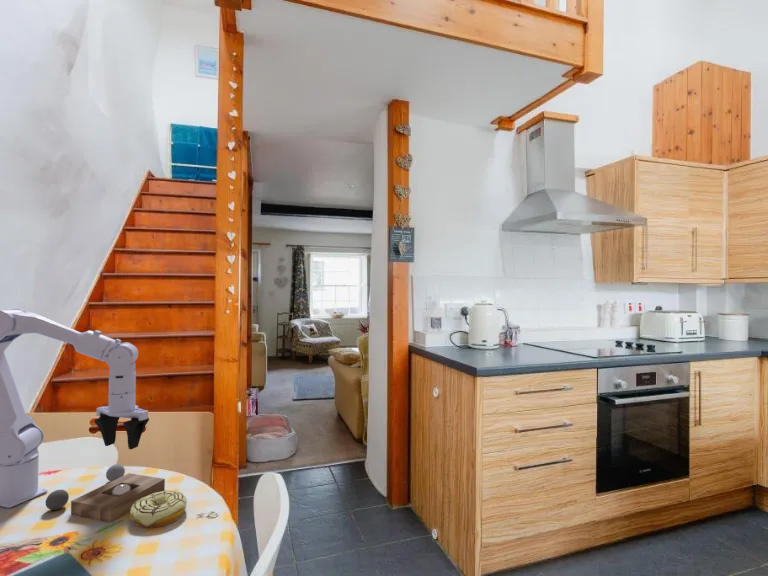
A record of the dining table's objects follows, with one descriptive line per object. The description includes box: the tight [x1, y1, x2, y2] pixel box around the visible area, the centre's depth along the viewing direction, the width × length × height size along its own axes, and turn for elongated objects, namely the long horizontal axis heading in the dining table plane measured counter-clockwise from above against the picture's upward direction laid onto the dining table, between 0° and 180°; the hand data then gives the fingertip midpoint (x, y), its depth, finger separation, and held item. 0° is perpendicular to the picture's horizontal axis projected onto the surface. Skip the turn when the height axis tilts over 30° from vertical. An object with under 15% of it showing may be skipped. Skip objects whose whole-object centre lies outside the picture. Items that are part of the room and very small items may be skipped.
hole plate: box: [70, 472, 166, 524], centre depth 91 cm, size 11×14×3 cm
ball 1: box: [44, 489, 70, 511], centre depth 88 cm, size 4×4×4 cm
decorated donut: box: [129, 490, 188, 529], centre depth 86 cm, size 10×11×4 cm
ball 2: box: [105, 463, 126, 482], centre depth 102 cm, size 4×4×4 cm
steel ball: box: [111, 484, 132, 497], centre depth 91 cm, size 4×4×4 cm
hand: (121, 446), depth 100 cm, fingers open, 7 cm apart
